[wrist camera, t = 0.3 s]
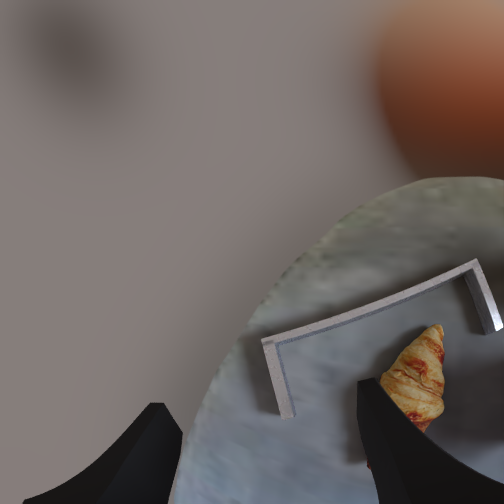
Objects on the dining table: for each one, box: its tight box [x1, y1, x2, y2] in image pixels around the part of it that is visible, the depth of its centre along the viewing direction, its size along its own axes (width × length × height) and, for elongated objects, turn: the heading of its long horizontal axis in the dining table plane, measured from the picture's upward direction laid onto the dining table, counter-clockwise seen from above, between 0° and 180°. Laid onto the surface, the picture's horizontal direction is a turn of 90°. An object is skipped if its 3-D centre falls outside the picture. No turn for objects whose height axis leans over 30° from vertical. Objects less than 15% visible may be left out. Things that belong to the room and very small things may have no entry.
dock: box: [261, 258, 503, 420], centre depth 34 cm, size 11×33×4 cm, turn 104°
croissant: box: [367, 324, 445, 469], centre depth 30 cm, size 21×10×8 cm, turn 153°
